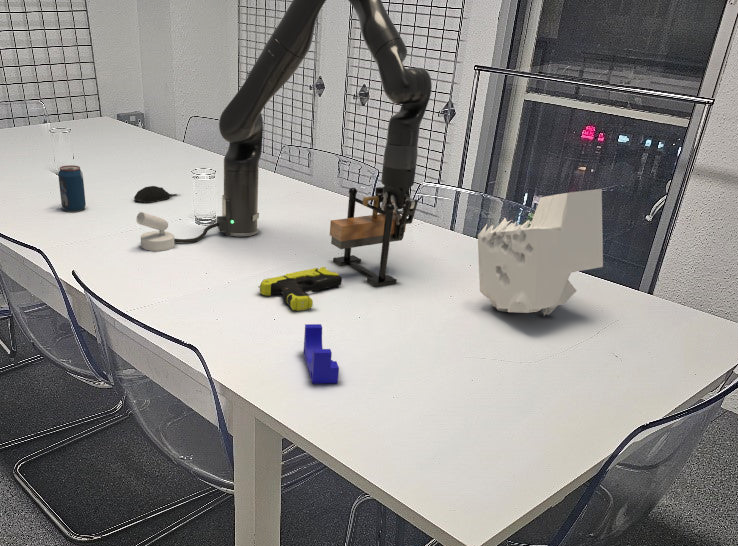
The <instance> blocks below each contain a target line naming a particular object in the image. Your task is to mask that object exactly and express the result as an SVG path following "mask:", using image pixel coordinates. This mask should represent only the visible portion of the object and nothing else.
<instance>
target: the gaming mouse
mask: <svg viewBox="0 0 738 546" xmlns="http://www.w3.org/2000/svg"><path fill="white" fill-rule="evenodd" d="M173 196H177V193H170V192H168V191H166V189H165V188H164V187H160V186H156V185H149V186H145V187H143V188H141V189H140V190H138V191H137V192H136V193H135V195H134V196H133V199H134V201H136V202H140V203H154V202H159V201H164V200H165V201H166V200H169V199H170V198H171V197H173Z"/></svg>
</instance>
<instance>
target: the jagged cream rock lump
mask: <svg viewBox="0 0 738 546" xmlns="http://www.w3.org/2000/svg"><path fill="white" fill-rule="evenodd" d="M510 222H511V220H508V221H507V218H506V217H504V218H503V219H502V220H501V222H500V223H499V224H498V225H497V226H496V227H495V228H494V226H495V225H494V224H491V225H490V226H489V227H488V229H487V226H488V223H486V224H485V225H484V226H483V228H482V229H481V231H480V232H479V233H477V255H478V278H479V293H481V294H482V295H483V296H484V297H485V298H487V299H488V300H489V301H490V302H491V306H492V307H494V308H495V309H496V310H497V311H498V312H508V313H523V314H529V313H537V312H539V311H542V313H543V317H545V316H549V315H550V314H551V313H552V312H553V311H554V310H555V309H556V308H558V306H559V305H560V306H562V305H565V304H566V303H567V302H568V301H569V300H570V298H572V296H573V295H574V294H576V292H577V291H578V290H577V289H576V288H575V287H574V285H573V284H572V283H571V282H570V280H569V278H570V276H571V274H572V273H577V272H583V271H587V270H593V269H599V268H603V267H604V247H603V246H604V245H603V243H604V242H603V237H604V236H603V189H602V188H597V189H588V190H580V191H578V190H577V191H570V192H564V193H557V194H553V195H552V194H551V195H546V196H540V197H539V200H538V203H537V206H536V209H535V211H534V214H533V216H532V219H531V221H530V219H529V220H527V221H525V222H524V223H523V224H517V223H518V221H515V222H511V223H510Z"/></svg>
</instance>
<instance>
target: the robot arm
mask: <svg viewBox="0 0 738 546" xmlns="http://www.w3.org/2000/svg"><path fill="white" fill-rule="evenodd" d="M347 1H348V2H349V3H350V5H351V6H352V8H353V9H354V12H355V14H356V15H357V19H358V22H359V27H360V33H361V36H362V39H363V41H364V44H365V45H366V47H367V49H368V51H369V54H370V55H371V57H372V58H373V61H374V62H375V63H376V65H377V69H378V75H379V78H380V82H381V86H382V89H383V91H384V94H385V96H386V97H387V98H388V100H389V101H391V102H392V103H393V104H394V105H400V108H399V110H398V112H397V113H395V114H394V115H392V116H391V117H390V118H389V120H388V125H387V134H386V143H385V148H384V153H383V160H382V170H381V171H382V172H381V180H380V182H381V185H382V186H379V187H375V195H374V196H378V197H379V203H378V208H379V209H381V210H384V211H386V210H385V207H386V205H388V204H393V205H394V211H393V214H394V215H395V219H396V225H395V232H394V240H396V241H395V242H398V241H397V240H400V241H402V240H403V239H404V236H405V232H404V229H405V230H406V228H405V225H406V226H407V225H411V224H413V220H414V217H415V213H416V209H417V207H418V199H413V198H412V197H411V192H410V189H411V187H413V186H414V185H415V177H416V169H417V162H418V153H419V152H418V151H419V150H418V148H419V147H418V145H419V137H420V127H421V123H422V121H423V118H424V115H425V113H426V110H427V107H428V105H429V101H430V98H431V94H432V87H433V86H432V85H433V84H432V83H433V82H432V78H431V75H430V73H429V72H428V70H427V69H425V68H423V67H410V68H406V67H405V65H404V64H403V62H404V61H405V60H406V58H407V55H408V48H407V46H406V44H405V42H404V40H403V38H402V37H401V35H400V33H399V31H398V30H397V28H396V26H395V25H394V23H393V21H392V19H391V17H390V15H389V14H388V12H387V10H386V8H385V6H384V4H383V2H382V0H347ZM326 2H327V0H292V1H291V3H289V6H288V8H287V9H286V11H285V13H284V15H283V16H282V18H281V20H280V21H279V23H278V25H277V26H276V27H275V29H274V30H273V32H272V34H271V35H270V37H269V39H268V40H267V41H266V43H265V46H264V47H263V49H262V51H261V53H260V54H259V56H258V57H257V59H256V61H255V63H254V64H253V66H252V68H251V70H250V71H249V74H248V75H247V77H246V79H245V81H244V82H243V84H242V86H241V87H240V89H239V90H238V91H237V92H236V94H234V96H233V98H232V99H231V101H230V102H229V103H228V104H227V105H226V106H225V107H224V109H223V111H222V112H221V115H220V117H219V120H218V129H219V133H220V136H221V137H222V138H223V140H224V141H226V142H227V143H229V145H228V148H227V151H226V153H225V155H224V157H223V194H222V195H221V199H222V200H221V204H222V205H221V207H222V211H221V213H222V215H217V216H216V222H215V223H212V224H210V225H207V226H206V227H205V228H204V229H203V231H202V233H200V234H199V235H198V236H196V237H193V238H174V243H178V244H190V243H197V242H198V241H199V242H200V240H202V239H203V238H204V237H205V236H206V235H207V233H208V231H210V230H211V229H214V228H217V229H218V232H219V233H220V232H221V233H222V232H223V233H224V235H225V236H226V237H227V236H230V237H231V236H232V237H238V238H239V237H240V238H243V237H244V238H245V237H252V236H255V235H257V234H258V230H259V228H258V219H260V213H259V212H258V211H259V165H260V160H261V157H262V152H263V136H264V119H263V115H262V111H263V110H264V108H265V107H266V105H267V104H268V102H269V101H270V100H271V99H272V98H273V97H274V95H275V94H277V92H279V90H280V89H282V87H284V85H285V84H286V83H287V82H288V81H289V80H290V79H291V78H292V76H293V75H294V74H295V73H296V71H298V68H299V67H300V66H301V64H302V62H303V61H304V59H305V58H306V56H307V55H308V53H309V51H310V49H311V46H312V42H313V38H314V33H315V27H316V23H317V19H318V16H319V13H320V11H321V10H322V8H323V6H324V4H325V3H326ZM377 214H381V213H379V212H377ZM400 215H402V218H401V219H400Z"/></svg>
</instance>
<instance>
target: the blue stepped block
mask: <svg viewBox="0 0 738 546" xmlns="http://www.w3.org/2000/svg"><path fill="white" fill-rule="evenodd" d="M303 340H304V341H303V352H302V353H303V357H304V360H305V363H306V367H307V370H308V374H309V376H310V380H311V383H312V384H315V385H317V384H318V385H319V384H338V383H339V382H338V381H339V371H340V367H339V364H338V362H337V360H333V359H332V355H333V354H332V353H333V352H332V349H331V348H323V325H322V324H321V323H308V324H304V338H303Z"/></svg>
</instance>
